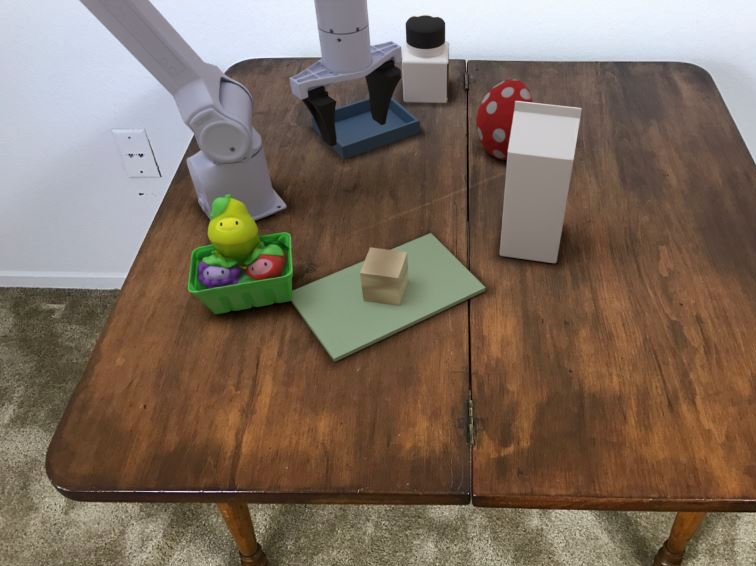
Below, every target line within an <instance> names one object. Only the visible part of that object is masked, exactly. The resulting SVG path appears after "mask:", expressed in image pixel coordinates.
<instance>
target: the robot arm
mask: <svg viewBox="0 0 756 566" xmlns="http://www.w3.org/2000/svg"><path fill="white" fill-rule="evenodd" d="M78 1H79V2H80V3H81V4H82V5H83V6H84V7H85V8H86V9H87V10H88V11H89V12H90V13H91V14H92V15H93V16H94V17H95V18H96V19H97V21H98V22H99V23H101V25H103V26H104V27H105V28H106V30H107V31H108V32H110V34H111V35H112V36H113V37H114V38H115V39H116V40H117V41H118V42H119V43H120V44H121V45H122V46H123V47H124V48H125V49H126V50H127V51H128V52H129V53H130V54H131V55H132V56H133V57H134V58H135V59H136V60H137V61H138V63H140V64H141V65H142V67H143V68H144V69H146V70H147V72H148V73H149V74H150V75H151V76H152V77H153V78H154V79H155V80H156V81H157V82H158V83H159V84H160V85H161V86H162V87H163V88H164V89H165V90H166V91H167V92H168V93H169V95H170V96H172V97H173V100H174V102H175V105H176V107H177V109H178V112H179V114H180V117H181V119H182V121H183V123H184V125H186V126H187V127H188V128H189V130H190V131H191V132H192V133H193V135H194V137H195V140H196V143H197V145H198V148H199V149H200V150H199V151H197V152H196V153H195V154H193V155H191V156H189V157H187V158H186V165H187V170H188V172H189V174H190V178H191V181H192V184H193V187H194V190H195V193H196V197H197V199H198V200H197V202H198V204H199V206H200V207H201V210H202V211H203V212H204V213H205V215H206V216H207V217H208V219H209V221H211V217H210V214H211V212H212V203H213V201H214V200H215V199H216V198H219V197H223V198H225V195H231V196H232V198H233V199H236V200H238V201H240V202H242V203H244V205H245V206H246V208H247V211H248V213H249V215H250V216H251V217H252V218H253V220H254V221H255V222H256V221H258V220H261V219H263V218H266V217H269V216H271V215H274V214H275V213H277V212H280V211H283V210H285V209H287V207H288V206H287V204H286V202H285V201H284V200H283V199H282V198H281V196H280V195H279V194H278V193H277V192H276V190H275V189H274V188H273V184H272V181H271V176H270V171H269V166H268V163H267V162H268V161H267V159H266V153H265V149H264V145H263V140H262V136H261V134H260V133H259V132H258V131H257V130H256V129H255V128H254V126H253V111H254V98H253V97H252V93H251V92H250V91H249V89H248V88H247V87H246V86H245V85H244V84H242V83H241V82H239V81H237V80H235V79H233V78H231V77H229V76H227V75H226V74H225V73H224V72H223V71H222V70H221V68H219V66H217V65H215V64H212V63H209V62H206V61H204V60H203V59H202V58H201V57H200V55H199V54H198V53H197V52H196V51H195V50H194V49H193V47H191V45H190V44H188V42H187V41H186V40H185V39H184V37H182V35H180V34H179V32H178V31H177V30H176V29H175V28H174V27H173V25H172V24H171V23H170V22H169V21H168V20H167V19H166V17H164V15H163V14H162V13H161V12H160V11H159V10H158V9H157V7H156V6H155V5H154V4H153V3H152V2H151V1H150V0H78ZM313 1H314V2H313V3H314V9H315V17H316V24H317V26H316V27H317V32H318V39H319V44H320V45H319V46H320V47H319V48H320V54H321V58H320V59H319V60H317V61H316V62H314V63H313V64H311V65H310V66H308V67H307V68H305V69H304V70H302V71H301V72H299V73H297V74H295V75H293V76H290V77H289V84H290V89H291V94H292V95H294V96H295V97H296V98H298V99H299V100H301V101H302V102H303V104H304V106H305V107H306V108H307V110H308V112H309V113H310V114H311V116H313V118H314V120H315V122H316V124H317V126H318V128H319V131H320V133H321V136H322V137H321V136H320V137H321V139H322V141H323V142H324V143H326V145H328V146H330V147H331V146H335V145H336V142H337V138H336V130H335V108H337V101H336V99H334V98H333V97H331V96H330V95H329V91H327V90H326V88H328V87H330V86H333V85H336V84H338V83H342V82H348V81H355V80H360V79H362V78H365V80H366V85H367V89H368V98H369V99H370V109H371V115H372V119H373V120H375V121H376V122H378V123H379V124H380V125H384V124H386V119H387V114H388V109H389V105H390V101H391V98H393V95H394V93H395V90H396V88H397V86H398V84H399V83H400V81H401V79H402V69H400V68H399V67H398V66H396V65H395V64H399V63H402V57H403V51H402V46H401V45H400V44H398V43H396V42H395V41H393V40H390V41H386V42H383V43H378V44H372V45H371V36H370V24H369V23H370V21H369V9H368V0H313Z"/></svg>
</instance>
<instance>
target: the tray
mask: <svg viewBox="0 0 756 566" xmlns="http://www.w3.org/2000/svg"><path fill="white" fill-rule="evenodd" d="M310 117H311V125H312V129H313V130H314V131H315V132H316V133H317V134H318V135H319V136H320V137H321V138H322V136H321V133H320V131H319V128H318V126H317V124H316V122H315V120H314V118H313V116H312V115H311V116H310ZM335 130H336V138H337V142H336V145H335V146H330V147H331V148H332V149H333V151H335V152H336V153H337V154H338V155H339V157H340V158H341V159H342V160H347V159H349V158H352V157H354V156H357V155H360V154H363V153H366V152H369V151H372V150H375V149H378V148H381V147H383V146H386V145H390V144H392V143H395V142H399V141H400V140H403V139H406V138H409V137H412V136H415V135H418V134H420V133H421V123H420V119H418V118H417V117H416V116H415V115H414V114H413V113H411V111H409V110H408V109H407V108H406V107H404V106H403V105H402V104H401V103H400V102H398V101H397V100H396V99H395V98H394V97H392V98H391V101H390V105H389V109H388V114H387V119H386V124H384V125H380V124H379V123H378V122H376V121H375V120H373V119H372V115H371V109H370V99H369V97H366V98H364V99H360V100H357V101H353V102H351V103H348V104H344V105H342V106H337V107H335Z"/></svg>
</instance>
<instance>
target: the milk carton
mask: <svg viewBox="0 0 756 566" xmlns="http://www.w3.org/2000/svg"><path fill="white" fill-rule="evenodd" d="M582 111H583V110H582V107H576V106H567V105H560V104H559V105H557V104H548V103H539V102H533V103H531V102H522V101H515V108H514V115H513V122H512V128H511V134H510V141H509V147H508V156H507V159H506V169H505V181H504V195H503V207H502V219H501V229H500V245H499V256H500V257H505V258H514V259H520V260H521V259H522V260H527V261H535V262H542V263H549V264H556V263H557V262H558V257H559V250H560V245H561V238H562V232H563V226H564V220H565V214H566V209H567V201H568V196H569V190H570V184H571V178H572V173H573V168H574V167H573V166H574V161H575V155H576V148H577V141H578V135H579V134H578V133H579V128H580V122H581V116H582Z"/></svg>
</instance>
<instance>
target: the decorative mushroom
mask: <svg viewBox="0 0 756 566" xmlns="http://www.w3.org/2000/svg"><path fill="white" fill-rule="evenodd" d="M515 101H522V102H531V103H534V101H533V97H532V93H531V91H530V89H529V88H528V87H527V85H526V84H525V83H524V82H523V81H521V80H520V79H514V78H509V79H505V80H502V81H501V82H499V83H497V84H496V85H494V86H492V87H491V88H490V89H489V90H488V91H487V93H485V95H484V96H483V98H482V99H481V101H480V104H479V106H478V109H477V111H476V112H477V113H476V117H475V118H476V122H475V123H476V124H475V127H476V134H477V137H478V140H479V142H480V144H481V145H482V147H483V148H484V149H485V151H486V152H487V153H488V154H489V155H491V157H493V158H496V159H497V160H500V161H504V160H507V156H508V147H509V141H510V134H511V128H512V122H513V115H514V108H515Z"/></svg>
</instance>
